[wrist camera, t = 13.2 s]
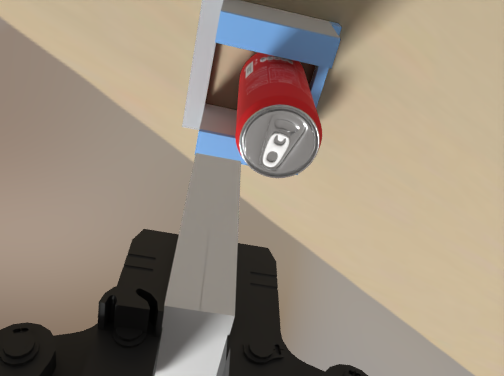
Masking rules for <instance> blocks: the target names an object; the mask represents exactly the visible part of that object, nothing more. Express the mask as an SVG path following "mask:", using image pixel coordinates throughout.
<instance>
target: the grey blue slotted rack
mask: <svg viewBox="0 0 504 376" xmlns="http://www.w3.org/2000/svg"><path fill="white" fill-rule="evenodd" d="M341 28H342V27H341V26H340V24H339V23H334V22H330V21H326V20H322V19H317V18H313V17H309V16H305V15H301V14H296V13H292V12H288V11H284V10H280V9H275V8H271V7H267V6H263V5H259V4H254V3H250V2H246V1H242V0H202V4H201V11H200V17H199V23H198V30H197V36H196V42H195V49H194V55H193V61H192V68H191V74H190V80H189V87H188V93H187V99H186V106H185V112H184V118H183V125H182V127H186V128H191V129H196V130H199V133H198V139H197V144H196V150H195V154H196V153H199V154H204V155H210V156H215V157H221V158H226V159H232V160H237V161H241V164H244V165H247V163H246V162H245V161H244V159H243V158H242V156H241V155H240V153H239V151H238V148H237V145H236V139H235V133H236V119H237V110H233V109H229V108H224V107H219V106H214V105H209V104H205V102H206V96H207V91H208V85H209V80H210V74H211V69H212V63H213V58H214V52H215V47H216V43H219V44H224V45H228V46H233V47H237V48H242V49H246V50H250V51H255V52H259V53H264V54H268V55H273V56H277V57H282V58H286V59H290V60H295V61H299V62H304V63H308V64H313V65H316V66H315V70H314V73H313V76H312V80H311V83H310V86H309V88H310V91H311V94H312V98H313V101H314V104H315V107H317V104H318V101H319V98H320V95H321V92H322V88H323V85H324V82H325V79H326V76H327V73H328V69H329V68H330V69H331V68H332V65H333V62H334V59H335V56H336V53H337V50H338V46H339V43H340V40H341V39H340V37H339V34H340V31H341ZM296 175H298V174H296Z"/></svg>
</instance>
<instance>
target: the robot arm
mask: <svg viewBox="0 0 504 376" xmlns="http://www.w3.org/2000/svg"><path fill="white" fill-rule="evenodd" d="M240 171H241V161H237V160H232V159H226V158H221V157H215V156H210V155H204V154H199V153H196V154H195V159H194V164H193V169H192V174H191V179H190V183H189V188H188V193H187V198H186V203H185V208H184V212H183V217H182V222H181V227H180V232H179V235H177V234H172V233H166V232H159V231H154V230H147V229H143V231H141V232H140V233H139V234H138V235H137V236H136V237H135V238H134V239H133V240H132V243H131V246H130V249H129V252H128V256H127V258H126V261H125V264H124V268H123V270H122V272H121V275H120V278H119V281H118V285H117V286H116V287H114V288H112V289H111V290H109V291H108V292H106V293H105V294H104V295H103V297H102V298H101V300H100V301H99V311H98V312H99V313H98V323H97V324H96V325H95V326H93V327H91V328H89V329H86V330H84V331H81V332H76V333H71V334H63V335H56V336H53V335H52V333H51V331H50V330H48V329H46V328H45V327H43V326H42V325H39V324H33V323H20V324H13V325H11V326H8V327H6V328H3V329H1V330H0V376H368V375H366V374H365V373H364V372H363V371H362V370H360V369H357V368H355V367H353V366H350V365H342V364H339V365H335V366H332V367H330V368H329V369H328V370H327V371H326V372H324V371H322V370H320V369H318V368H315V367H313V366H311V365H308V364H306V363H305V362H303V361H301V360H299V359H298V358H297V357H295V356H294V355H293V354H292V353H291V352H290V351H289V350H288V348H287V347H286V345H285V344H284V342H283V340H282V337H281V332H280V318H279V317H280V316H279V301H278V290H277V271H276V270H277V269H276V261H275V259H274V257H273V256H272V254H271V252H270V251H269V249H268V248H264V247H258V246H251V245H246V244H240V243H238V222H239V197H240Z"/></svg>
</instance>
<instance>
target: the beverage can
mask: <svg viewBox="0 0 504 376" xmlns="http://www.w3.org/2000/svg"><path fill="white" fill-rule="evenodd" d="M235 139H236V145H237V148H238V151H239V153H240V155H241V156H242V158H243V159H244V161H245V162H246V163H247V165H248V166H249V167H250V168H251V169H253V170H254V171H256V172H257V173H259V174H261V175H264V176H267V177H272V178H285V177H290V176H293V175H296V174H299V173H300V172H302V171H303V170H304V169H306V168H307V167H308V166H309V165H310V164H311V163H312V161H313V160H314V158H315V157H316V155H317V152H318V150H319V147H320V144H321V140H322V128H321V123H320V120H319V117H318V114H317V110H316V107H315V104H314V101H313V98H312V94H311V91H310V88H309V85H308V82H307V78H306V75H305V72H304V69H303V67H302V65H301V63H300V62H299V61H295V60H290V59H286V58H282V57H277V56H273V55H268V54H264V53H259V52H258V53H256V54H255V55H253V56H252V57H251V58H250V59H249V60H248V61H247V62H246V63H245V65H244V66H243V68H242V70H241V74H240V79H239V92H238V105H237V119H236V133H235Z"/></svg>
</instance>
